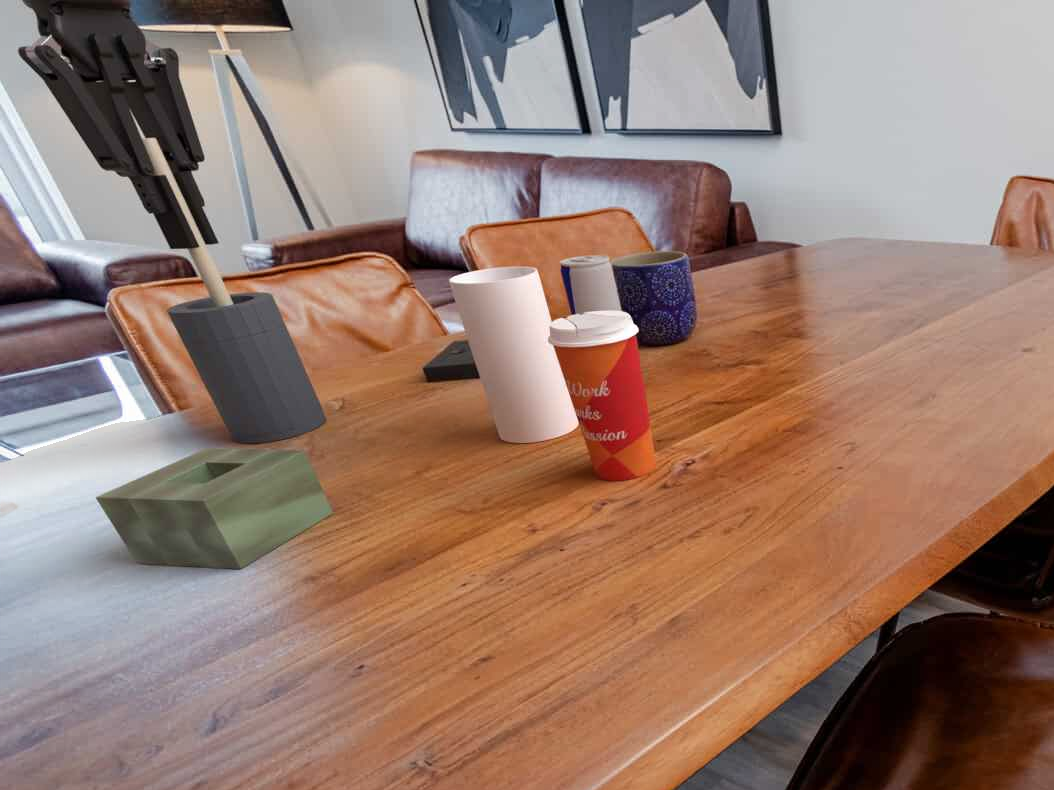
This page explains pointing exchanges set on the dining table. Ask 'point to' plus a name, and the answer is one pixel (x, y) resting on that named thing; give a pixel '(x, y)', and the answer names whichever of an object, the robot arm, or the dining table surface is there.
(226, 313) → the dark gray cylindrical container
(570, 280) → the beverage can
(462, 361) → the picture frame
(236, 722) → the dining table surface
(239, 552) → the holder
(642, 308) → the planter
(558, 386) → the cup
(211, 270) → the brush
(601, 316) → the paper cup
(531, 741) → the dining table surface
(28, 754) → the dining table surface
